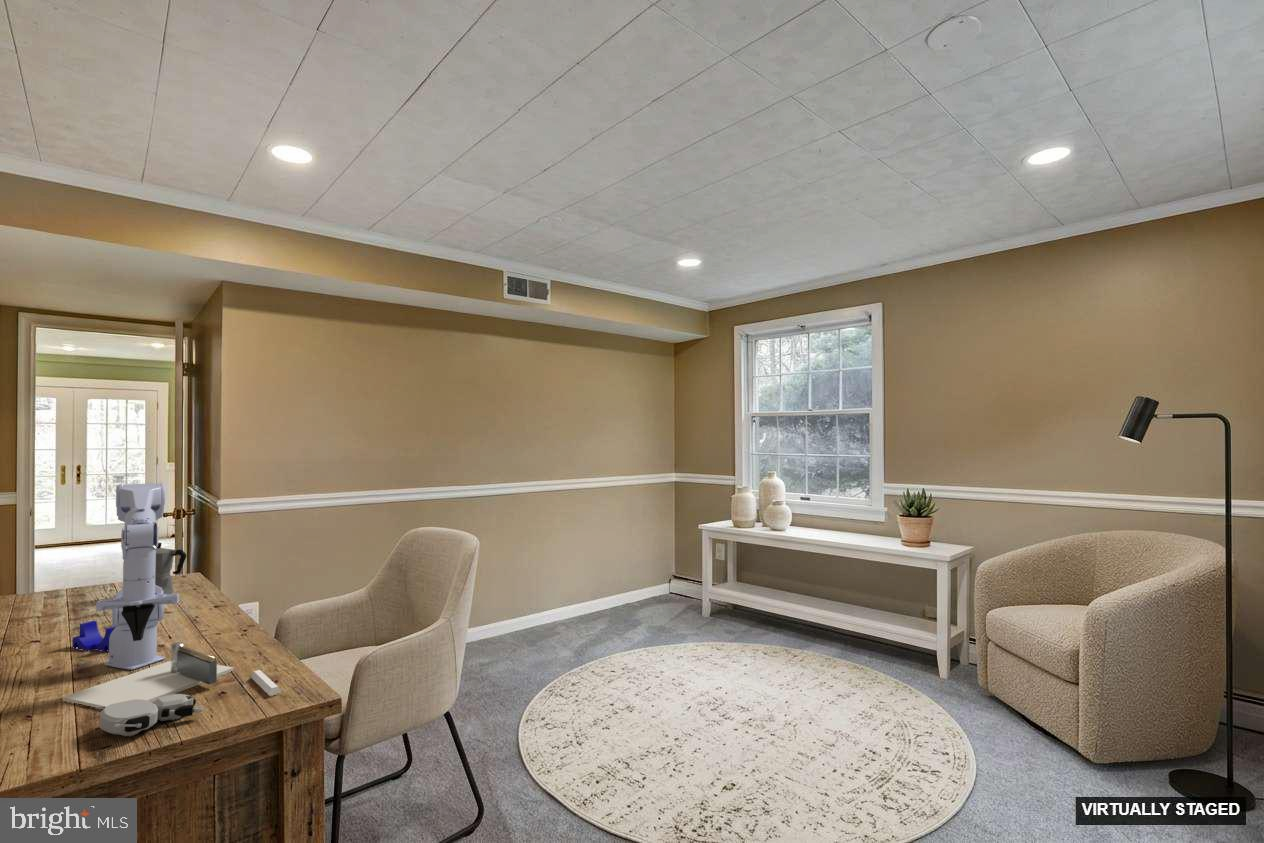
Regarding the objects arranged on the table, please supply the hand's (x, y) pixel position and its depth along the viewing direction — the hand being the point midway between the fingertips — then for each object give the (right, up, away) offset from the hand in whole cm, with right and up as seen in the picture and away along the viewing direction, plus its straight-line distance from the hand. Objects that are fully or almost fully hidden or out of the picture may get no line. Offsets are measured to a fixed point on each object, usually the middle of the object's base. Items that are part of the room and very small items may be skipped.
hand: (138, 639), depth 141 cm
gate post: (+6, -10, +4) cm, 12 cm away
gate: (+13, -8, 0) cm, 15 cm away
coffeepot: (-48, -11, +72) cm, 88 cm away
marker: (+29, -10, -1) cm, 30 cm away
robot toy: (+18, -10, -20) cm, 29 cm away
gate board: (+5, -9, -2) cm, 11 cm away
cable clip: (-27, -10, +21) cm, 36 cm away
